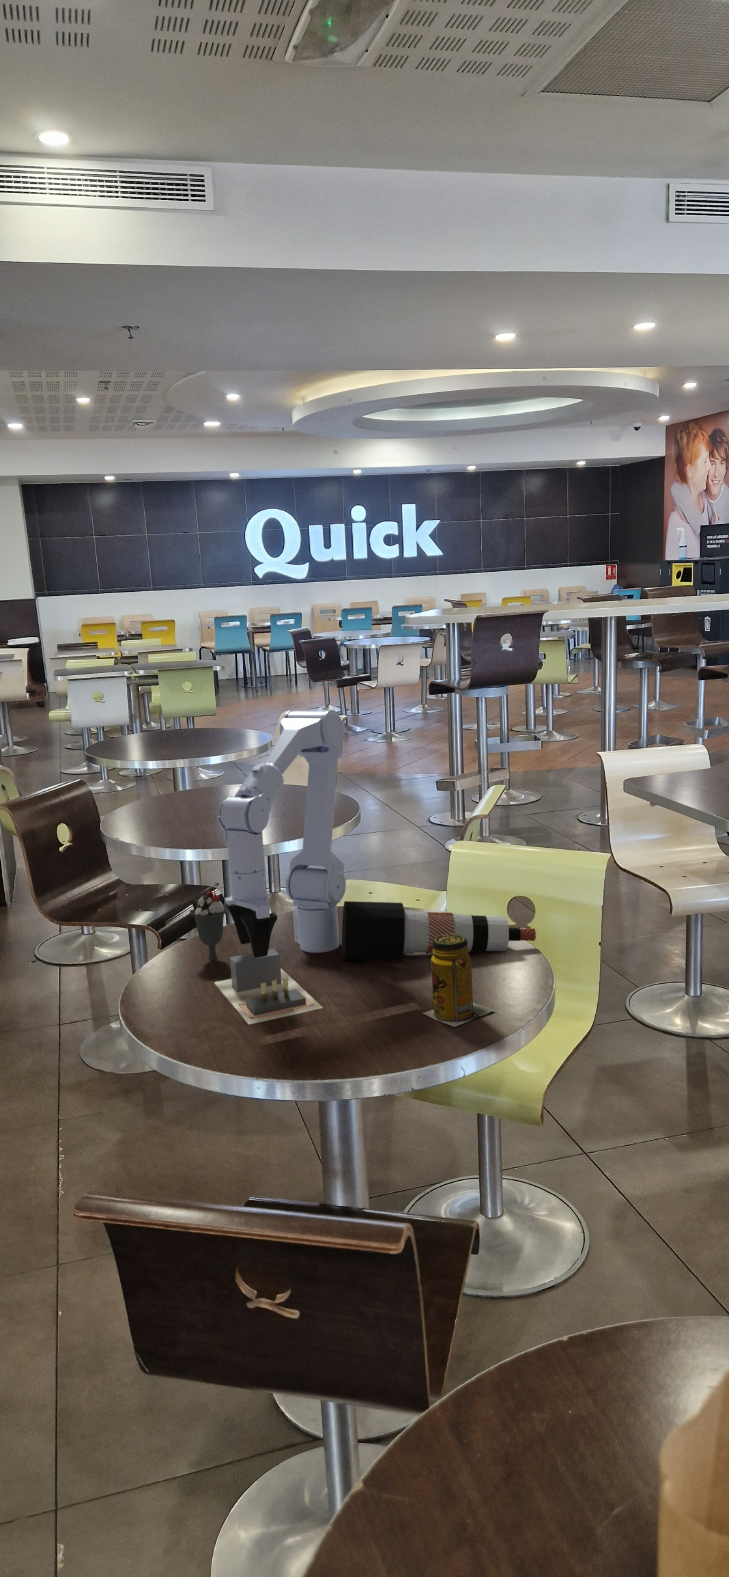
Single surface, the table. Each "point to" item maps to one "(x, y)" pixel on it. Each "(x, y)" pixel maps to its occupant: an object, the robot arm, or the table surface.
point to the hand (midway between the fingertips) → (253, 949)
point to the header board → (269, 999)
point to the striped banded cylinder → (417, 931)
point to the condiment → (453, 982)
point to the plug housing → (254, 970)
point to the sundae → (209, 920)
